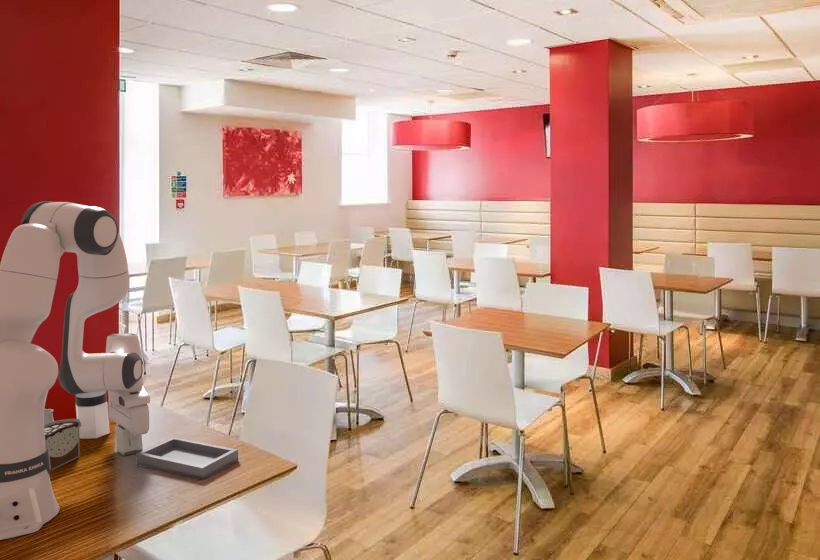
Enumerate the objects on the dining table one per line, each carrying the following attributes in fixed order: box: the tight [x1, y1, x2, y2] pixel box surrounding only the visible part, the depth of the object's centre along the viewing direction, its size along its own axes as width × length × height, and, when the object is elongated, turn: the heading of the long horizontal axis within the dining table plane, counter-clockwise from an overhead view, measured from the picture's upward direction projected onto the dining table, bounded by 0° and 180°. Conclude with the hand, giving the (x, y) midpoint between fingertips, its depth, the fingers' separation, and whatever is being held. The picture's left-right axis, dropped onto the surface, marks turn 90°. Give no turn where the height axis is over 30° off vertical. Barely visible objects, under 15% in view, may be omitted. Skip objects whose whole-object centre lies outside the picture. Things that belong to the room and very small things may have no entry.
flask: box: [44, 408, 55, 425], centre depth 191 cm, size 7×7×10 cm
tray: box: [135, 436, 239, 481], centre depth 178 cm, size 13×22×3 cm, turn 64°
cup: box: [115, 424, 144, 457], centre depth 186 cm, size 5×5×8 cm
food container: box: [44, 418, 81, 472], centre depth 179 cm, size 12×6×10 cm, turn 161°
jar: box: [74, 391, 110, 440], centre depth 199 cm, size 9×8×12 cm
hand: (129, 442), depth 186 cm, fingers closed on cup, 5 cm apart
